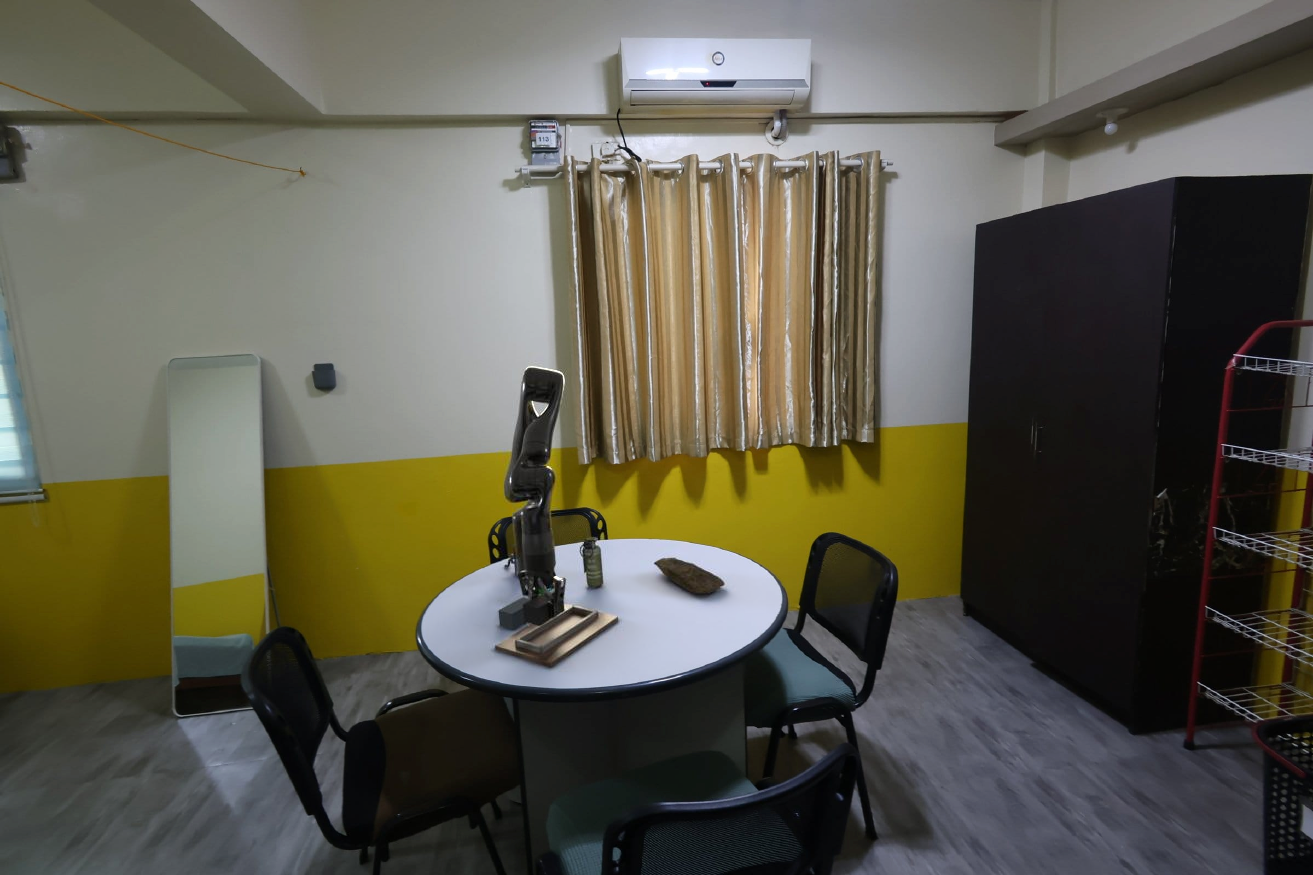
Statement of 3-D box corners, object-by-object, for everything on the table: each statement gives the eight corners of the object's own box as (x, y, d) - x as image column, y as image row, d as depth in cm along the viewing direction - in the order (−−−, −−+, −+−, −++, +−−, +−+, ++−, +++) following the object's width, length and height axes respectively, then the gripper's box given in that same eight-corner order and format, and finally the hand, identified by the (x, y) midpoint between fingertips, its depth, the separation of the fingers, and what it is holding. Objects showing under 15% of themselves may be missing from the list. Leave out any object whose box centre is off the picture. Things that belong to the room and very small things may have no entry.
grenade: (605, 582, 186) (601, 535, 183) (601, 590, 180) (598, 541, 178) (585, 583, 187) (581, 535, 184) (581, 590, 181) (577, 542, 179)
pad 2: (524, 622, 147) (522, 604, 146) (549, 607, 154) (548, 590, 154) (539, 626, 144) (537, 608, 144) (564, 610, 152) (563, 593, 151)
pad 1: (499, 626, 161) (498, 610, 160) (524, 612, 168) (522, 597, 168) (513, 630, 158) (511, 613, 157) (537, 616, 166) (536, 600, 165)
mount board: (495, 649, 148) (494, 639, 148) (565, 607, 170) (564, 598, 169) (551, 667, 139) (550, 656, 138) (618, 620, 160) (617, 611, 160)
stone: (702, 600, 170) (701, 580, 169) (649, 573, 191) (648, 555, 191) (731, 590, 175) (731, 571, 174) (677, 564, 197) (676, 547, 196)
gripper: (571, 547, 146) (577, 614, 149) (527, 539, 154) (533, 603, 156) (550, 557, 140) (556, 627, 142) (505, 549, 147) (512, 615, 150)
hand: (544, 614), depth 149 cm, fingers closed on pad 2, 5 cm apart
